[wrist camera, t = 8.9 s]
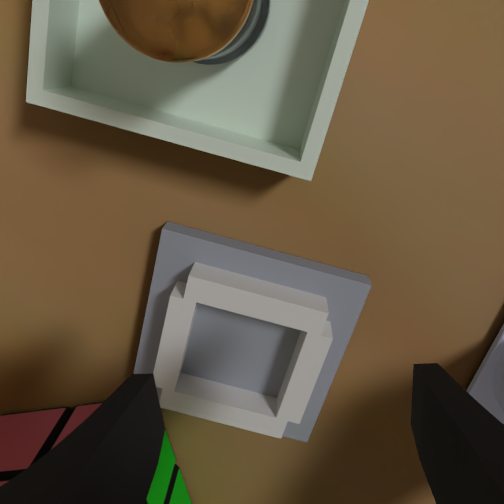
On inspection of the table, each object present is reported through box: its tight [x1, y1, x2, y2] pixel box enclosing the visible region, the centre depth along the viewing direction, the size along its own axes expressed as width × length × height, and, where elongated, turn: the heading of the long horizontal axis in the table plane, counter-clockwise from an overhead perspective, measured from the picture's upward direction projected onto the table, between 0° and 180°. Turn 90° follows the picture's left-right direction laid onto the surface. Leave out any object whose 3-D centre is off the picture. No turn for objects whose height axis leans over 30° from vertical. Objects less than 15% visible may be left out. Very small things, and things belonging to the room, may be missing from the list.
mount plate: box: [133, 221, 372, 442], centre depth 23 cm, size 10×10×2 cm
